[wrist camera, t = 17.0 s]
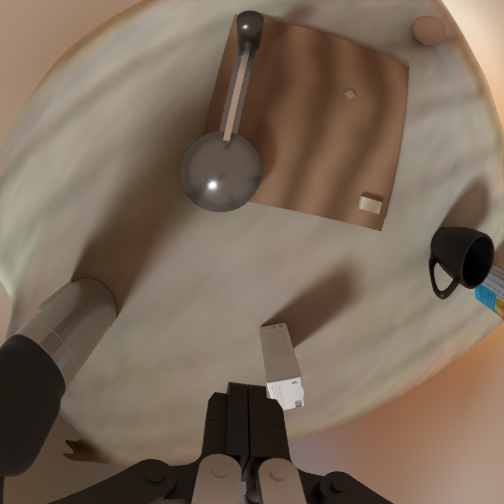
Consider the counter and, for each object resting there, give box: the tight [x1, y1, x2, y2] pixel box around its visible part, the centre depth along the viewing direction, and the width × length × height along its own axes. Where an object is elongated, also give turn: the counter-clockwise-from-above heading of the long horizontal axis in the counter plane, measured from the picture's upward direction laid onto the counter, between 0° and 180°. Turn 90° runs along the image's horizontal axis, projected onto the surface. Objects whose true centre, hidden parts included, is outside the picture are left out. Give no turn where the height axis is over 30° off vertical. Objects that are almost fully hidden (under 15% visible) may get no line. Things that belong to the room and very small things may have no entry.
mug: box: [429, 227, 494, 299], centre depth 33 cm, size 8×12×10 cm
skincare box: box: [259, 323, 305, 410], centre depth 35 cm, size 6×4×12 cm
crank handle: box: [180, 11, 264, 212], centre depth 26 cm, size 22×9×8 cm, turn 169°
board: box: [204, 15, 409, 231], centre depth 30 cm, size 25×25×3 cm
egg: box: [412, 16, 446, 46], centre depth 24 cm, size 5×5×7 cm
